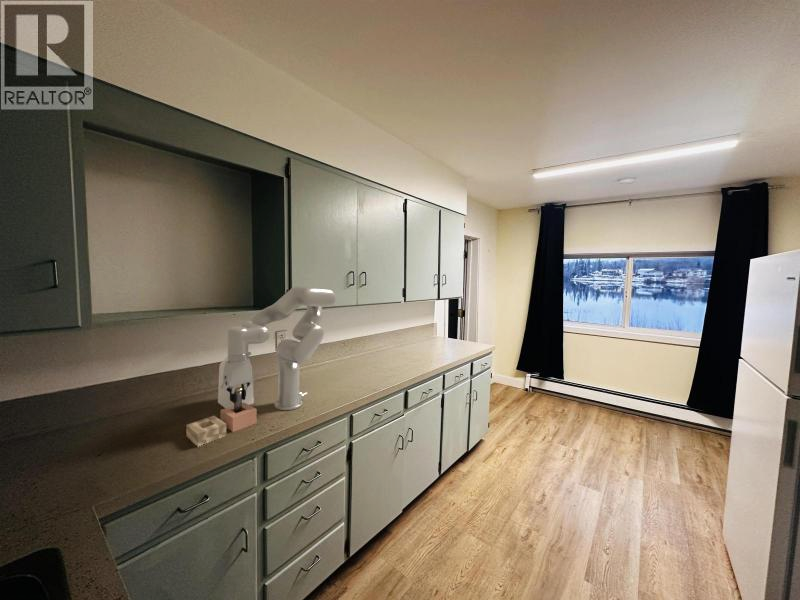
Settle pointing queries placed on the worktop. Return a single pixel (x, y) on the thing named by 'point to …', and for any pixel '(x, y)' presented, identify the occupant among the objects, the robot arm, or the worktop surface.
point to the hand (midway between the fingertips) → (237, 400)
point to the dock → (239, 417)
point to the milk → (225, 395)
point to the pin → (238, 399)
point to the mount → (206, 430)
